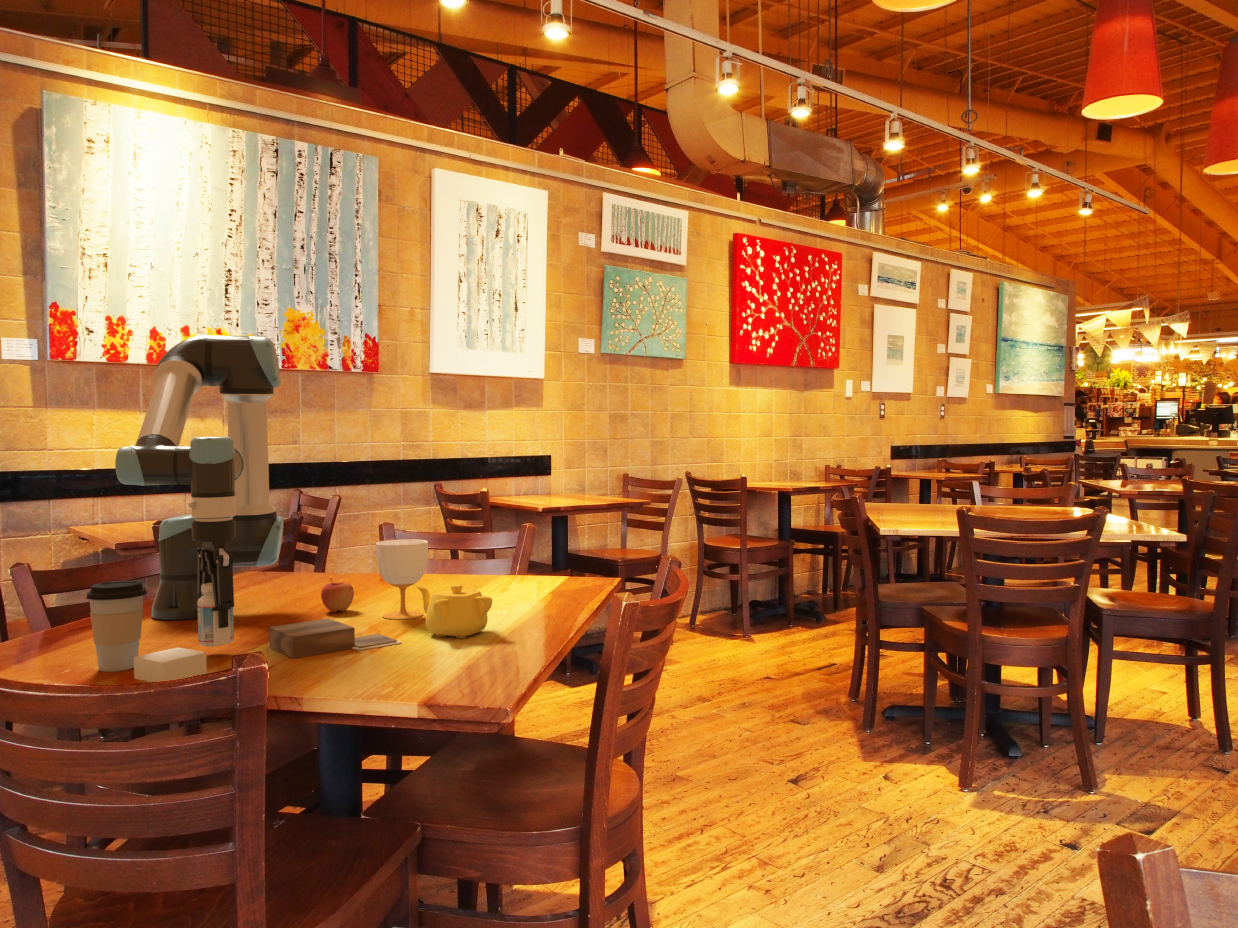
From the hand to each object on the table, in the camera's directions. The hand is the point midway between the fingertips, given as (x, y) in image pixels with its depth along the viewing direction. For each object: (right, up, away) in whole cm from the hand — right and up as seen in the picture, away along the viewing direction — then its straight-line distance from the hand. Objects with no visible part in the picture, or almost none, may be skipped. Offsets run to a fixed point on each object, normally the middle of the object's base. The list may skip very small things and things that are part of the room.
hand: (216, 640), depth 165 cm
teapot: (+42, -2, +18) cm, 45 cm away
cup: (+26, -2, +36) cm, 45 cm away
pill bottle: (0, -1, 0) cm, 1 cm away
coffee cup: (-13, -3, -9) cm, 16 cm away
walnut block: (+16, -3, +6) cm, 17 cm away
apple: (+10, -2, +42) cm, 43 cm away
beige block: (-1, -4, -14) cm, 15 cm away
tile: (+26, -2, +9) cm, 28 cm away
